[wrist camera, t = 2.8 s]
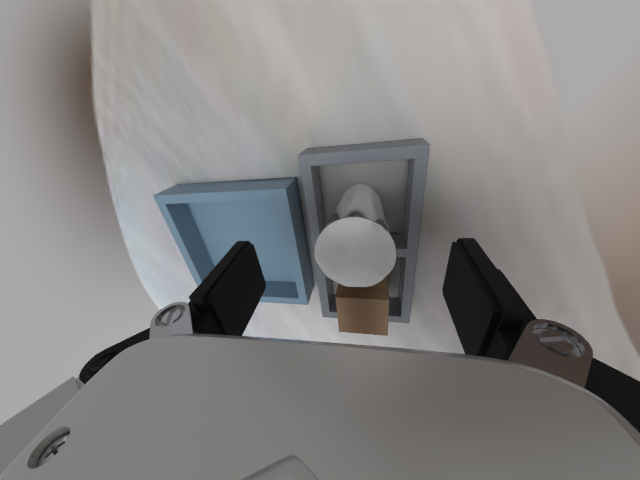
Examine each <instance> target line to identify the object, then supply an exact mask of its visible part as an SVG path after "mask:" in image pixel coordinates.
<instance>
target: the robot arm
mask: <svg viewBox="0 0 640 480" xmlns="http://www.w3.org/2000/svg"><path fill="white" fill-rule="evenodd" d="M265 288H266V282H265V279H264V276H263V273H262V270H261V266H260V263H259V260H258V257H257V253H256V250H255V247H254V245H253V244H251V243H250V241H237V242H236V243H235V244H234V245H233V246H232V248H231V249H230V250H229V251H228V252H227V253H226V255H225V256H224V257H223V258H222V259H221V260H220V262H219V263H218V264H217V265H216V266H215V267H214V269H213V270H212V271H211V272H210V273H209V274H208V276H207V277H206V278H205V279H204V280H203V281H202V282H201V284H200V285H199V286H198V287H197V288H196V289H195V291H194V292H193V293H192V294H191V295H190V296H189V298H190V300H191V301H190V302H189V303H188V304H187V303H185V302H176V303H173V304H170V305H168V306H166V307H164V308H163V309H161V310H160V311H158V312H157V313H156V314H155V315H154V317H153V319H152V320H151V324H150V328H148V329H146V330H144V331H142V332H140V333H138V334H136V335H134V336H132V337H130V338H128V339H126V340H124V341H122V342H120V343H117V344H116V345H113V346H111V347H109V348H107V349H105V350H104V351H102V352H100V353H98V354H96V355H95V356H94V357H93V358H92V359H91V360H90V361H88V363H87V364H86V365H85V366H84V367H83V369H82V370H81V373H80V375H79V377H78V378H77V379H76V378H75V377H72V378H70V379H69V380H67V381H66V382H64V383H63V384H61V385H60V386H58V387H57V388H55V389H54V390H52V391H51V392H49V393H48V394H46V395H45V396H43V397H42V398H40V399H39V400H37V401H36V402H34V403H33V404H31V405H30V406H28V407H27V408H25V409H24V410H22V411H21V412H19V413H18V414H16V415H15V416H13V417H12V418H10V419H9V420H7V421H6V422H4V423H3V424H2V425H0V480H640V382H639V381H637V380H635V379H633V378H632V377H630V376H628V375H626V374H624V373H622V372H620V371H618V370H616V369H614V368H612V367H610V366H608V365H606V364H604V363H602V362H600V361H598V360H597V359H595V358H593V350H592V348H591V346H590V344H589V343H588V342H587V341H586V340H585V339H584V338H583V337H582V336H581V335H580V334H579V333H577V332H576V331H574V330H573V329H571V328H569V327H567V326H565V325H563V324H560V323H557V322H555V321H550V320H545V319H536V317H535V316H534V315H533V313H532V312H531V311H530V309H529V308H528V306H527V305H526V304H525V302H524V301H523V300H522V298H521V297H520V296H519V294H518V293H517V292H516V290H515V289H514V288H513V286H512V285H511V284H510V282H509V281H508V280H507V278H506V277H505V276H504V274H503V273H502V272H501V271H500V270H499V269H496V267H495V266H494V265H493V263H492V262H491V261H490V259H489V258H488V256H487V255H486V254H485V252H484V251H483V250H482V248H481V247H480V245H479V244H478V243H477V241H476V240H475V239H474V238H459V239H458V240H457V242H453V243H452V246H451V251H450V256H449V261H448V265H447V270H446V275H445V280H444V285H443V296H444V298H445V301H446V304H447V306H448V309H449V312H450V315H451V317H452V320H453V323H454V325H455V328H456V331H457V333H458V336H459V339H460V341H461V344H462V347H463V349H464V352H465V354H457V353H446V352H436V351H426V350H415V349H403V348H391V347H378V346H366V345H354V344H341V343H329V342H316V341H303V340H290V339H276V338H262V337H248V336H242V334H243V332H244V330H245V328H246V326H247V324H248V322H249V321H250V319H251V317H252V315H253V313H254V311H255V309H256V307H257V305H258V303H259V301H260V299H261V297H262V295H263V293H264V291H265Z"/></svg>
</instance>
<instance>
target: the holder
mask: <svg viewBox="0 0 640 480" xmlns="http://www.w3.org/2000/svg"><path fill="white" fill-rule="evenodd" d="M429 145H430V144H429V143H427V142H426V141H425V140H424V139H423V138H421V139H409V140H398V141H387V142H376V143H364V144H353V145H342V146H331V147H319V148H308V149H305V150H304V151H303V152H302V153H300V154H299V155H298V158H299V164H300V171H301V177H302V184H303V190H304V197H305V203H306V210H307V216H308V223H309V229H310V236H311V243H312V249H313V256H314V262H315V269H316V275H317V282H318V288H319V295H320V301H321V308H322V314H323V317H332V318H338V315H337V306H336V295H333V290H332V281H331V279H330V278H328V277H327V276H326V275H325V274H324V272H323V271H322V269H321V268H320V267H319V265H318V264H317V262H316V259H315V244H316V241H317V239H318V237H319V235H320V234H321V232H322V230H323V229H324V227H325V220H324V211H323V203H322V194H321V185H320V176H319V168H318V166H319V165H333V164H346V163H360V162H374V161H388V160H402V159H409V167H408V180H407V193H406V207H405V220H404V233H403V234H391V236H392V239H393V241H394V244H395V249H396V257H402V260H401V273H400V287H399V298H389V314H388V322H403V323H409V321H410V312H411V303H412V294H413V286H414V277H415V268H416V259H417V250H418V242H419V233H420V224H421V215H422V207H423V198H424V189H425V180H426V172H427V163H428V154H429Z"/></svg>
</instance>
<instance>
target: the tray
mask: <svg viewBox="0 0 640 480" xmlns="http://www.w3.org/2000/svg"><path fill="white" fill-rule="evenodd" d="M153 196H154V198H155V200H156V202H157V205H158V207H159V209H160V211H161V213H162V215H163V217H164V219H165V221H166V223H167V225H168V227H169V229H170V231H171V233H172V235H173V237H174V239H175V241H176V243H177V245H178V247H179V249H180V251H181V253H182V255H183V257H184V259H185V261H186V264H187V266H188V268H189V270H190V272H191V274H192V276H193V278H194V280H195V282H196V284H197V286H199V285H200V284H201V282H202V281H203V280H204V279H205V278H206V277H207V276H208V274H209V273H210V272H211V271H212V270H213V269H214V267H215V266H216V265H217V264H218V263H219V262H220V260H221V259H222V258H223V257H224V256H225V255H226V253H227V252H228V251H229V250H230V249H231V248H232V246H233V245H234V244H235V243H236V242H237V241H250V243H251V244H253V245H254V247H255V250H256V253H257V257H258V260H259V263H260V266H261V270H262V273H263V276H264V279H265V282H266V288H265V291H264V293H263V295H262V297H261V299H260V301H259V302H271V303H287V304H304V305H308V303H309V300H310V296H311V293H312V290H313V287H314V281H313V275H312V269H311V263H310V256H309V250H308V244H307V238H306V232H305V226H304V220H303V214H302V208H301V202H300V195H299V189H298V183H297V177H289V178H273V179H257V180H241V181H225V182H209V183H193V184H177V185H175V186H173V187H171V188H169V189H166V190H164V191H162V192H160V193H158V194H155V195H153Z"/></svg>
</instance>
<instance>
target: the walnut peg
mask: <svg viewBox="0 0 640 480" xmlns="http://www.w3.org/2000/svg"><path fill="white" fill-rule="evenodd" d="M336 306H337V315H338V325H339V332H351V333H363V334H375V335H388V314H389V292H388V281H387V276H386V277H385V278H384V279H383V280H382V281H380V282H379V283H377V284H375V285H372V286H369V287H347V286H343V285H341V284H339V283H338V287H337V292H336Z"/></svg>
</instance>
